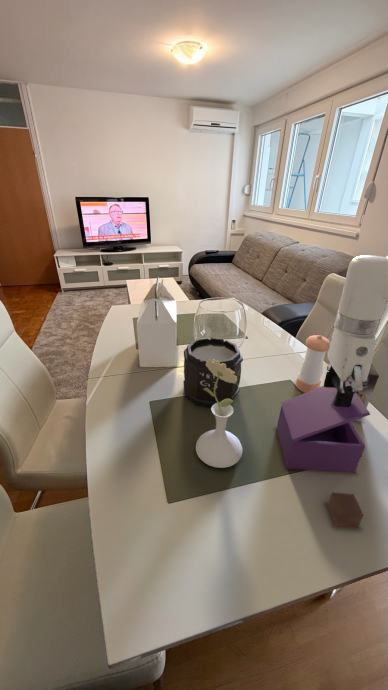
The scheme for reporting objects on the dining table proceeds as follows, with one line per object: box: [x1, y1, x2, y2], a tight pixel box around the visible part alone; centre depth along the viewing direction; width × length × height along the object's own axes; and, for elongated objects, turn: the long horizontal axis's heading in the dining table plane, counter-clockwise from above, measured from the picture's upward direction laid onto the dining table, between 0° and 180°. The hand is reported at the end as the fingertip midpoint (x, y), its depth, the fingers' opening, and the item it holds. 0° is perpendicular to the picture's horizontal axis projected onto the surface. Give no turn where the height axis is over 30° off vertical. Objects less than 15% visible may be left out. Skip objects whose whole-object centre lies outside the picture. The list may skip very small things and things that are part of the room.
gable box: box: [136, 276, 178, 368], centre depth 110 cm, size 22×13×28 cm, turn 3°
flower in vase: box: [195, 359, 243, 469], centre depth 68 cm, size 13×11×25 cm
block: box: [326, 492, 364, 529], centre depth 59 cm, size 4×4×4 cm
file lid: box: [281, 376, 371, 442], centre depth 68 cm, size 16×13×5 cm
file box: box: [276, 405, 366, 474], centre depth 73 cm, size 16×13×9 cm
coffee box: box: [348, 363, 380, 423], centre depth 84 cm, size 9×6×16 cm
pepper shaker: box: [295, 334, 331, 393], centre depth 94 cm, size 7×7×19 cm
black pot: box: [183, 337, 244, 408], centre depth 92 cm, size 18×18×16 cm
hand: (335, 395), depth 66 cm, fingers closed on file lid, 6 cm apart
